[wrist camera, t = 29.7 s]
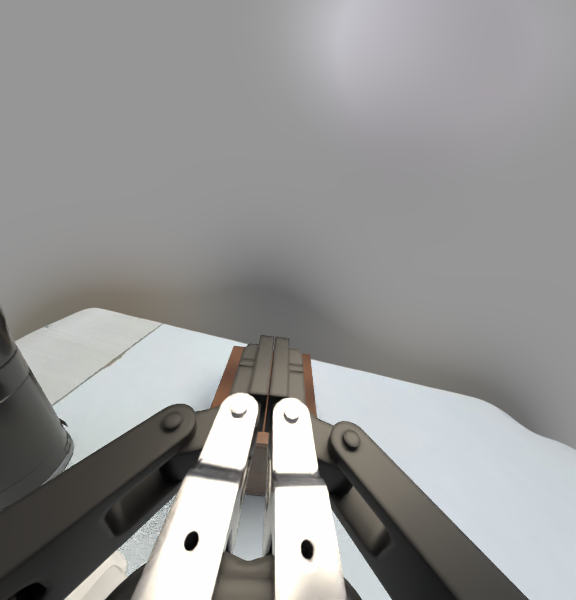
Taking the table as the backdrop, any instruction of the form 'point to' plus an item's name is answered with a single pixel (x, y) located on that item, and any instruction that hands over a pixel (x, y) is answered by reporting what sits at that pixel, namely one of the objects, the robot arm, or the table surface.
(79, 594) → the power adapter
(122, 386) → the table surface
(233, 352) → the lid
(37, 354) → the table surface
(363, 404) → the table surface
